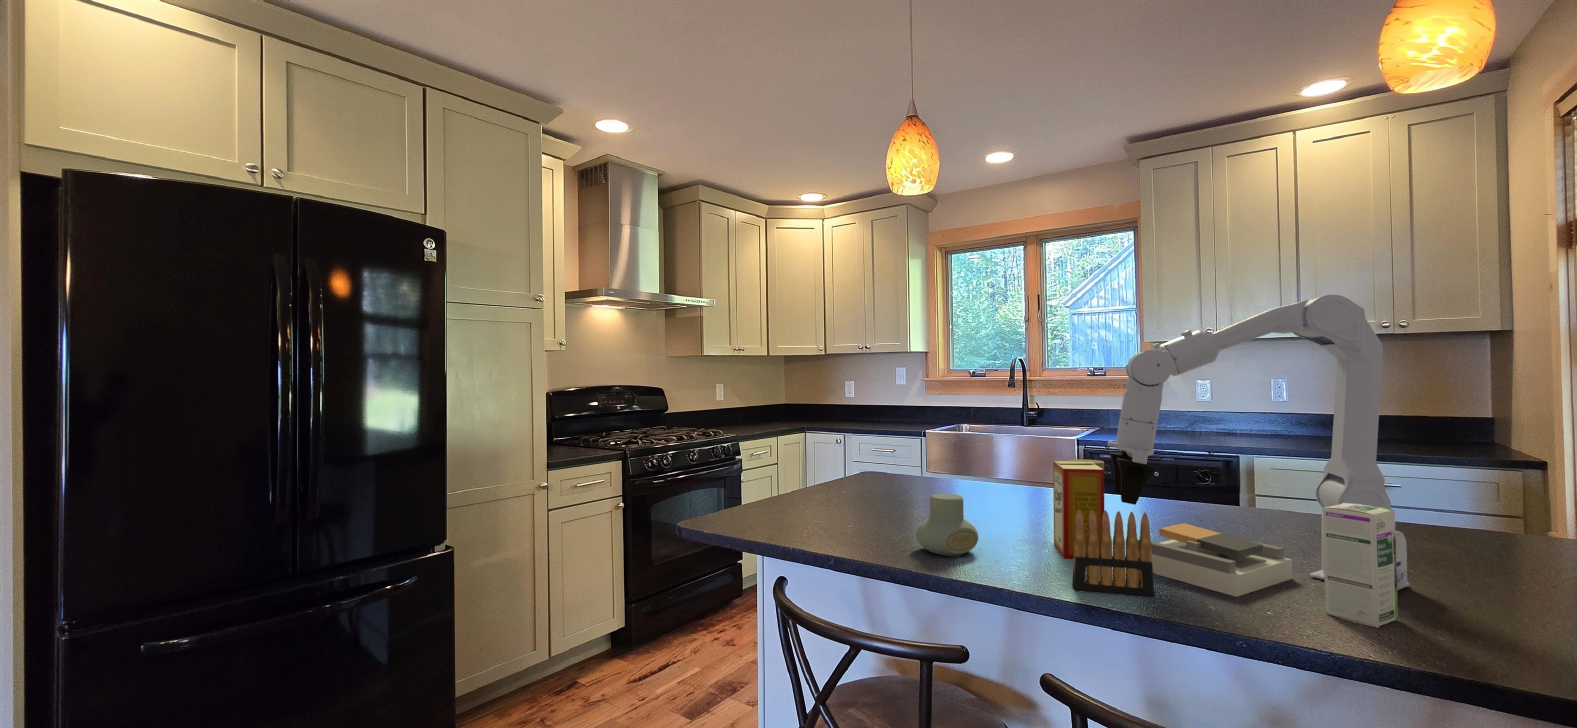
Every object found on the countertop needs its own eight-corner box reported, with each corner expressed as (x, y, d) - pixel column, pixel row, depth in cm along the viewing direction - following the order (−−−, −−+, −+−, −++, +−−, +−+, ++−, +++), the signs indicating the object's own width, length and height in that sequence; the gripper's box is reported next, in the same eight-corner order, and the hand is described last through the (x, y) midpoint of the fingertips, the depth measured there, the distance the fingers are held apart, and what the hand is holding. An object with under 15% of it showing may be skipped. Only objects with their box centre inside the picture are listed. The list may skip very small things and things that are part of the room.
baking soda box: (1104, 561, 110) (1104, 467, 110) (1064, 558, 112) (1063, 466, 112) (1091, 546, 120) (1090, 459, 120) (1053, 544, 121) (1053, 458, 121)
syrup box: (1378, 628, 81) (1377, 513, 81) (1322, 613, 87) (1321, 504, 87) (1399, 620, 84) (1397, 508, 84) (1343, 605, 89) (1342, 500, 89)
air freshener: (956, 542, 122) (956, 489, 123) (986, 554, 115) (986, 497, 115) (908, 549, 118) (907, 494, 118) (936, 561, 111) (935, 503, 111)
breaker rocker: (1262, 552, 100) (1262, 544, 100) (1237, 558, 97) (1238, 550, 97) (1183, 529, 111) (1184, 523, 111) (1159, 535, 107) (1159, 528, 107)
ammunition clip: (1151, 593, 95) (1150, 511, 95) (1154, 597, 93) (1153, 514, 93) (1072, 586, 98) (1071, 507, 98) (1074, 590, 96) (1073, 509, 96)
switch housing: (1292, 578, 101) (1291, 543, 101) (1236, 596, 93) (1236, 558, 93) (1186, 553, 115) (1186, 522, 115) (1131, 566, 107) (1130, 533, 107)
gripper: (1107, 413, 118) (1094, 485, 119) (1119, 419, 105) (1104, 501, 105) (1150, 420, 116) (1137, 494, 117) (1167, 428, 102) (1153, 511, 103)
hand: (1124, 498), depth 111 cm, fingers open, 7 cm apart
